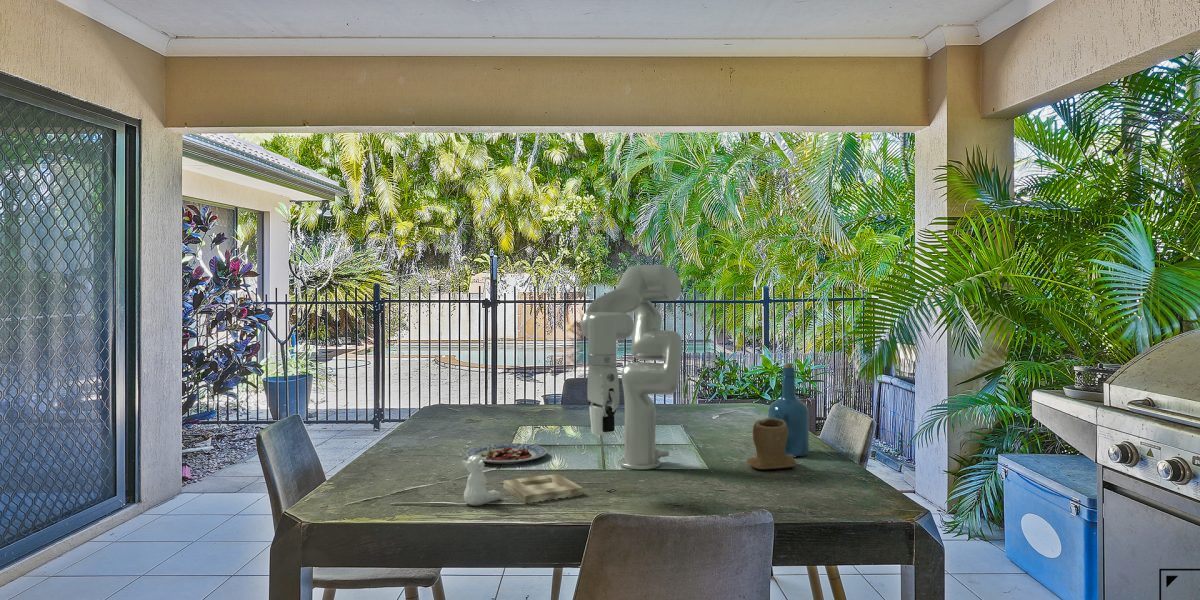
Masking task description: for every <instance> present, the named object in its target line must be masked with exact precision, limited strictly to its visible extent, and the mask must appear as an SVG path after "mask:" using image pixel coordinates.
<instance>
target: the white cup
mask: <svg viewBox="0 0 1200 600" xmlns="http://www.w3.org/2000/svg"><path fill="white" fill-rule="evenodd" d="M588 408H589V422H590V421H591V427H590V430H591V434H592V435H595V436H596V435H597V436H608V435H613V433H614V431H612V432H603V416H604V412H603V407H602V405H592V406H589V407H588ZM608 409H609V407H607V410H608Z"/></svg>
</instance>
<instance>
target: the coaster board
mask: <svg viewBox="0 0 1200 600" xmlns="http://www.w3.org/2000/svg"><path fill="white" fill-rule="evenodd" d="M502 483H503V489H504V490H505V491H506V492H508V493H509V494H511V495H512V494H513V496H514V497H515V496H516V497H515V498H517V499H518V500H519V499H520V501H521V502H522V501H523V502H524V503H523V502H522V503H523V504H524V505H527V504H526V503H528V504H534V503H533V502H535V503H539V501H541V502H546V501H545V500H548V501H552V500H551V499H555V500H559V499H558V498H562V499H567V498H566V497H568V498H575V497H581V496H580V495H582V496H584V488H583V486H581V485H579V484H577V483H576V482H573V481H572V480H570V479H568V478H566V477H564V476H562V475H560V474H559V473H553V474H552V473H551V474H545V475H537V476H536V475H535V476H529V477H522V478H514V479H512V478H511V479H506V480H505V479H504V480H503V482H502ZM574 496H575V497H574Z"/></svg>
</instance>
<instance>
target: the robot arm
mask: <svg viewBox="0 0 1200 600" xmlns="http://www.w3.org/2000/svg"><path fill="white" fill-rule="evenodd" d="M679 277H680V276H678V274H676V272H674V271H673V270H672V269H671V268H670V267H668V266H666V265H663V264H635V265H631V266H630V267H628V268H627V269H626V270H625V271H624V273H623V274H622V277H621V278H620V280H619V282H618V284H617V285H616V287H615V288H614V289H613V290H610V291H608V292H606V293H605V294H603V295H601V296H599V297H597V298H595V299H593V301H591V302H590V304H589V305H588V307H587V308H586V310H585V311H584V314H583V315H582V319H581V323H580V329H581V332H582V335H583V336H584V337H585V338H586V339H587V367H588V372H587V383H586V384H587V385H586V387H587V388H586V389H587V390H586V391H587V393H586V399H587V401H588V405H589V406H592V405H602V407H603V412H604V416H603V432H612V431H613V432H614V431H615V417H616V411H617V409H618V407H619V404H620V381H619V374H618V368H617V341H622V340H623V341H625V340H627V339H629V338H630V337H631V335H632V338H631V347H630V351H631V352H630V353H631V354H632V357H633V358H635V359H637V360H641V361H636V362H635V361H634V362H629V363H627V364H626V365H625V366H624V367H623V368H622V371H621V383H622V384H621V385H622V390H623V399H624V400H623V401H624V457H623V458H621V459H619V463H618V464H619V465H620V466H621V467H623V468H625V469H629V470H630V469H631V470H653V469H657V468H659V467H661V461H660V459H661V458H665V457H669V456H670V452H669V450H667V449H665V450H661V449H656V413H657V411H656V406H655V403H654V402H653V399H652V398H651V397H650V395H664V396H666V395H672V394H675V393H676V391H677V389H678V387H679V382H680V381H679V380H680V372H681V363H682V354H683V342H682V341H683V340H682V338H681V335H680V333H678V332H677V331H675V330H665V329H661V327H662V321H663V320H662V319H663V318H662V315H661V313H660V312H659V310H658V309H657V307H656V306H655V305H654V304H653V303H652V302H653V301H654V302H662V301H663V302H665V301H666V302H667V301H668V302H671V301H672V302H673V301H677V299H678V298H679V297H680V296H681V294H682V293H681V292H682V282H681V280H680V278H679ZM631 312H633V313H634V320H633V318H632V316H631V315H630V314H629V313H631ZM642 360H643V361H642ZM648 361H650V362H648ZM651 361H660V362H651ZM661 361H662V362H661ZM607 407H609V409H608V410H607ZM589 425H590V426H589V427H590V428H591V421H590V420H589Z"/></svg>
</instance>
